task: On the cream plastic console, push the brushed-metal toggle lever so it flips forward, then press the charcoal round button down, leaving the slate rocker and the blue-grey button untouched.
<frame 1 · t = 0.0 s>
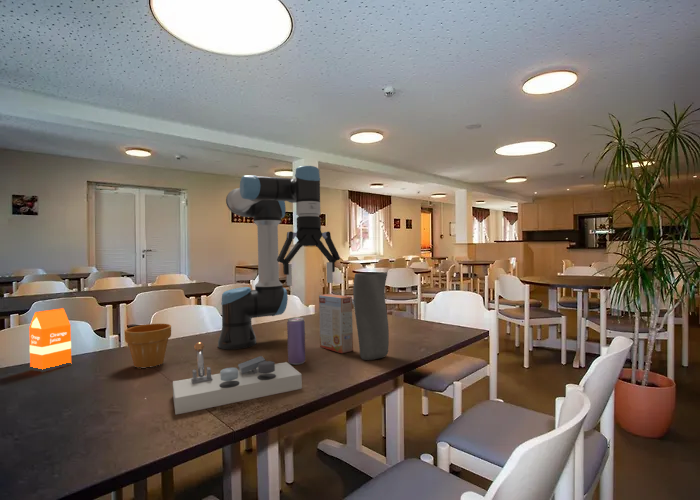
hand: (310, 284, 116), 28 cm above the table, fingers open, 13 cm apart
lever: (199, 353, 103), point 10 cm above the table, hinge at -35.0°
flower pot: (149, 365, 128), on the table
orange juice: (51, 368, 128), on the table
cracker box: (336, 349, 143), on the table
rocker: (252, 364, 106), point 6 cm above the table, hinge at 12.0°
vase: (372, 358, 131), on the table
beverage can: (296, 363, 127), on the table
console: (238, 392, 102), on the table
button B: (229, 374, 97), point 7 cm above the table, slide at 0.0 cm
button A: (266, 367, 102), point 7 cm above the table, slide at 0.0 cm
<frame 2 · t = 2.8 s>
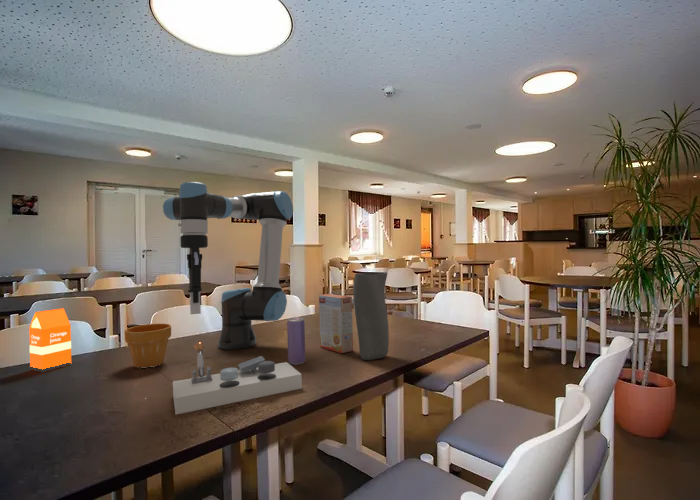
hand: (195, 313, 110), 20 cm above the table, fingers closed
nothing on the table moved.
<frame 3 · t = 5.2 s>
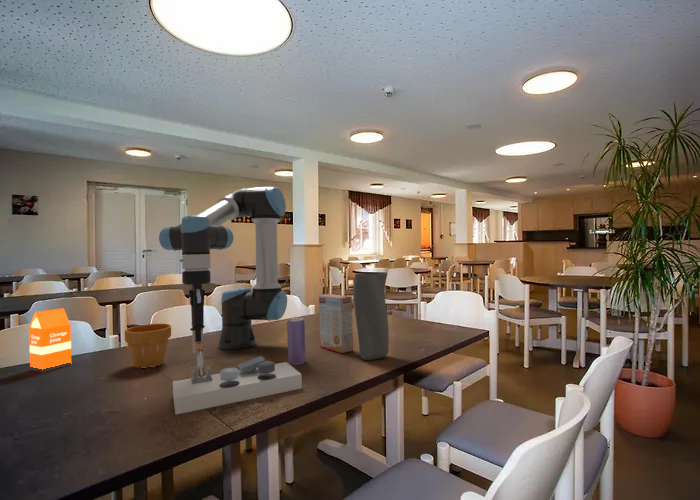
hand: (198, 352, 106), 10 cm above the table, fingers closed
lever: (199, 353, 103), point 10 cm above the table, hinge at -35.0°, touching gripper
everything else where it was.
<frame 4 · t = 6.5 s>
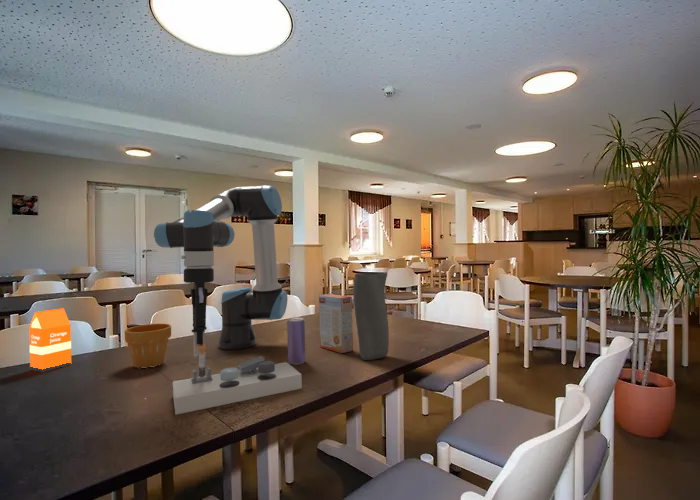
hand: (199, 355, 99), 11 cm above the table, fingers closed
lever: (202, 355, 98), point 11 cm above the table, hinge at 17.2°, touching gripper
everything else where it was.
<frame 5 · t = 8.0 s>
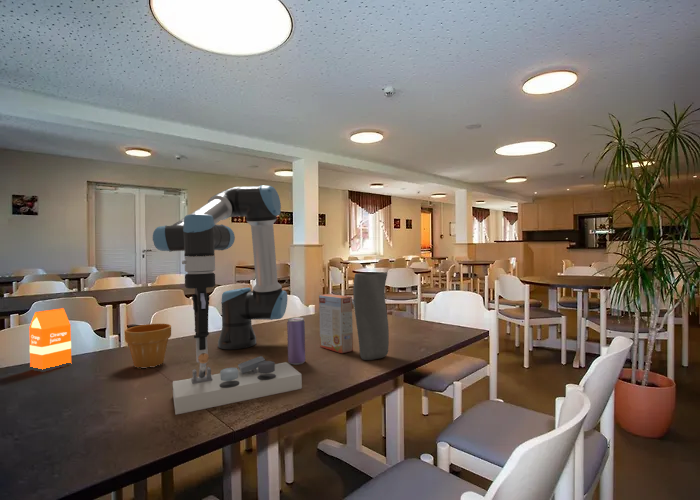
hand: (202, 360, 98), 10 cm above the table, fingers closed
lever: (203, 362, 96), point 10 cm above the table, hinge at 41.4°
everything else where it was.
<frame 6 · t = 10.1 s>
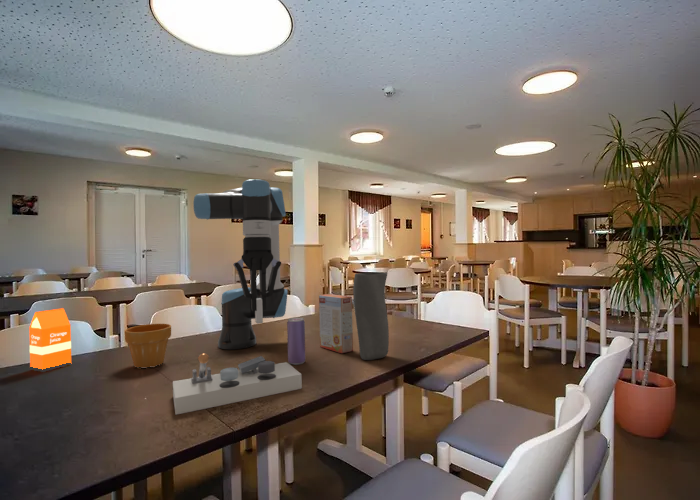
hand: (259, 322, 102), 19 cm above the table, fingers closed
nothing on the table moved.
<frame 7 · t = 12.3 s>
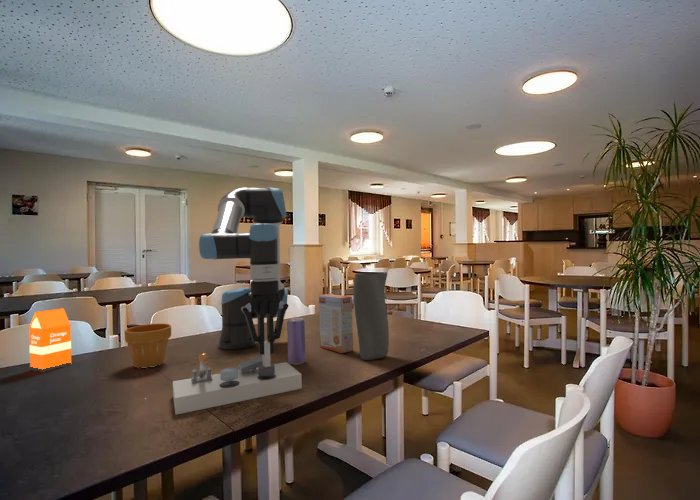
hand: (266, 365, 102), 7 cm above the table, fingers closed
button A: (266, 369, 102), point 6 cm above the table, slide at 0.8 cm, touching gripper
everything else where it was.
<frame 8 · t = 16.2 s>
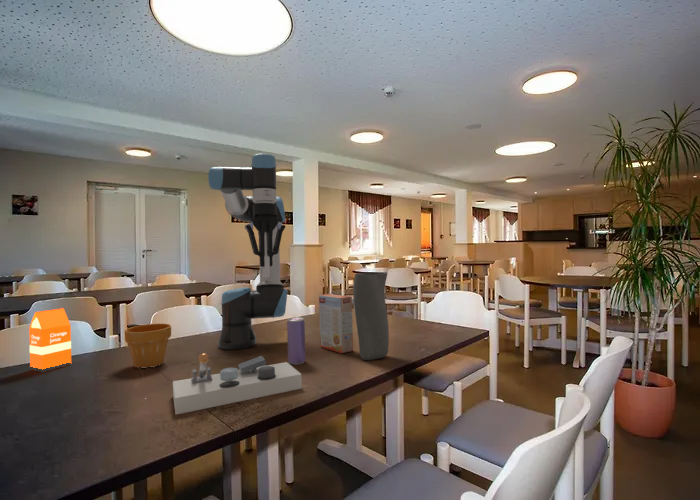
hand: (266, 276, 119), 30 cm above the table, fingers closed
button A: (266, 372, 102), point 5 cm above the table, slide at 1.4 cm
everything else where it was.
at the end: lever at +41° (first picture: -35°); button A slide at 1.4 cm; button B slide at 0.0 cm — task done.
